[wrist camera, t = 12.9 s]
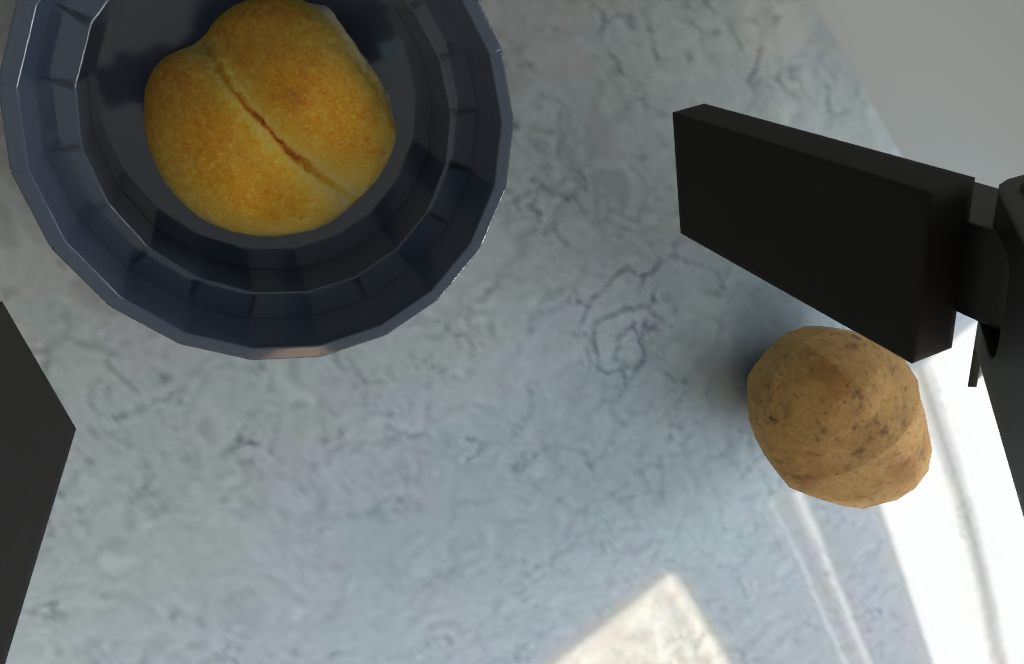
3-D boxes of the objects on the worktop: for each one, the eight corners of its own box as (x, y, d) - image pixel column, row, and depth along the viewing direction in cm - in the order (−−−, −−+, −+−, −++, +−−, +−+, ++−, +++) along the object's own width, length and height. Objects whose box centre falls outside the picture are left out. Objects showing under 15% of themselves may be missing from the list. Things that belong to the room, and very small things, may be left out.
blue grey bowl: (414, -154, 28) (462, -181, 23) (493, 239, 35) (542, 283, 30) (-56, -72, 24) (-124, -82, 19) (148, 346, 32) (139, 417, 27)
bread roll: (99, 109, 27) (84, 128, 24) (291, -42, 27) (303, -45, 24) (258, 268, 32) (264, 304, 28) (422, 137, 32) (448, 157, 28)
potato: (796, 253, 43) (907, 306, 36) (881, 383, 50) (986, 447, 44) (675, 373, 43) (763, 447, 37) (777, 484, 51) (865, 562, 44)
